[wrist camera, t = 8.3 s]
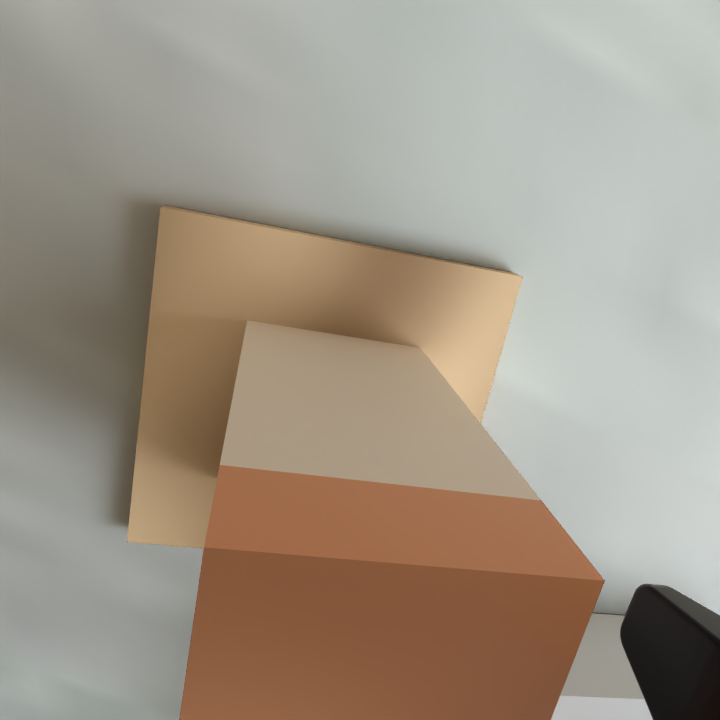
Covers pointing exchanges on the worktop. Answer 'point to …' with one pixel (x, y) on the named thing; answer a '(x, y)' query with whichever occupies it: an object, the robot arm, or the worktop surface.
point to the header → (601, 678)
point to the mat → (291, 309)
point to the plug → (375, 550)
